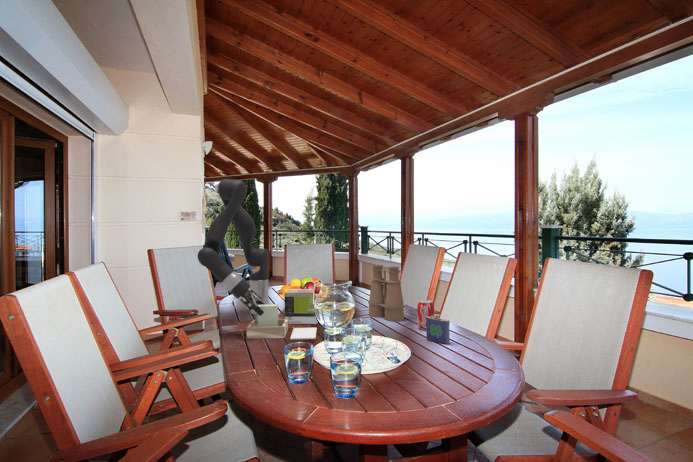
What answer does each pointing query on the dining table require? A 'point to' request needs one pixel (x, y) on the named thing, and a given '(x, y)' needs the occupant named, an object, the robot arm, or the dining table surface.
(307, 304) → the grey electronic device
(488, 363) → the dining table surface
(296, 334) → the grey mat
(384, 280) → the binoculars
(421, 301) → the soda can
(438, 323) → the flask
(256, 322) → the wooden box
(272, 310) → the cover plate
